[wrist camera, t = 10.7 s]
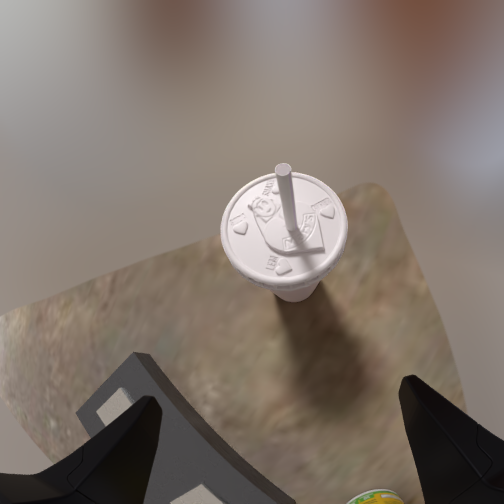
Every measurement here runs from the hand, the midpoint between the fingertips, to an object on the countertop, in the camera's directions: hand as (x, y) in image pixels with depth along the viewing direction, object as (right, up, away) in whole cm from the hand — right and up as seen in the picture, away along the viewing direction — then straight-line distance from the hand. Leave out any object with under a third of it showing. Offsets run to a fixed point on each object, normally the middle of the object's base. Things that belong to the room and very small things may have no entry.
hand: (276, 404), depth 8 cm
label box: (-7, -13, +9) cm, 17 cm away
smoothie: (+3, +3, +14) cm, 14 cm away
